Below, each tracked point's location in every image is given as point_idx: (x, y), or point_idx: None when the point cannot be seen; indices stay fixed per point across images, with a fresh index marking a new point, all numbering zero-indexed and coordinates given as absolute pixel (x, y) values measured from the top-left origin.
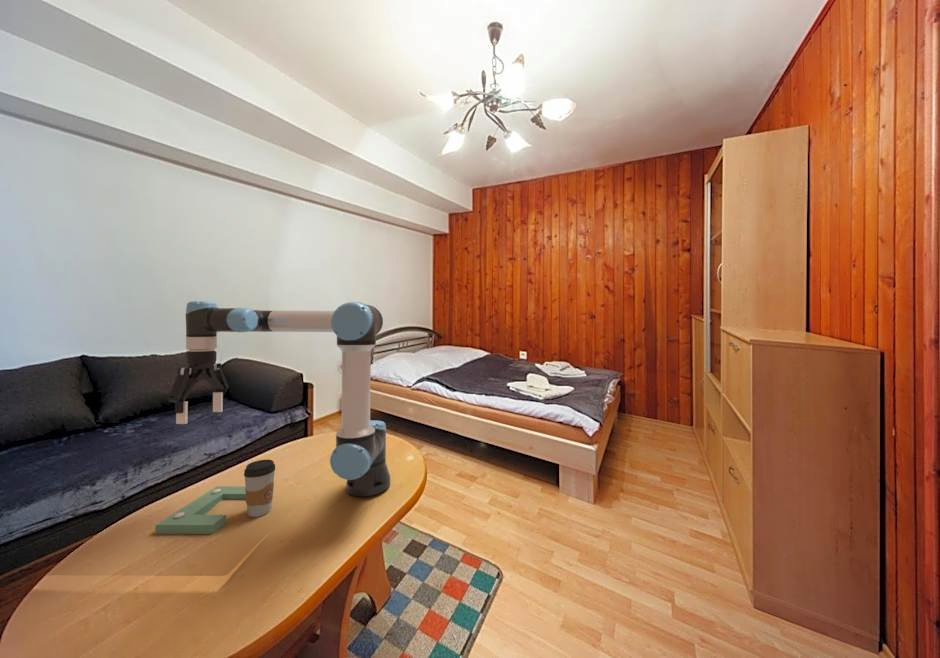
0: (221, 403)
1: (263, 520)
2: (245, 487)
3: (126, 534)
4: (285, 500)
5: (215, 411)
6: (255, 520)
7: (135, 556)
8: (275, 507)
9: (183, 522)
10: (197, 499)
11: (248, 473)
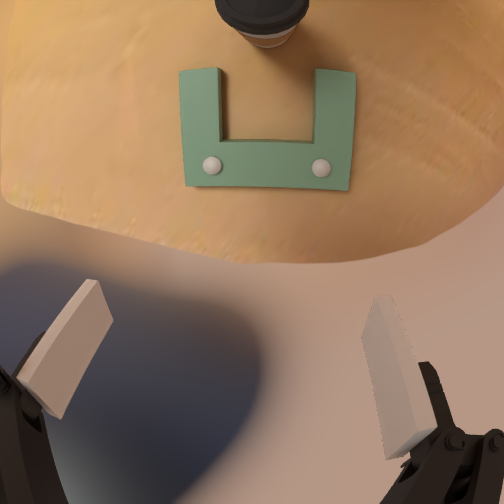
0: (65, 318)
1: None
2: (185, 111)
3: (339, 234)
4: None
5: (107, 310)
6: None
7: (403, 167)
8: None
9: (344, 140)
10: (247, 183)
11: (307, 3)
